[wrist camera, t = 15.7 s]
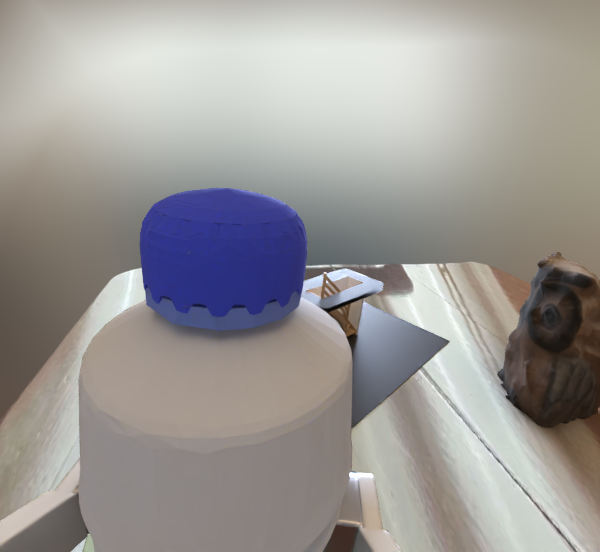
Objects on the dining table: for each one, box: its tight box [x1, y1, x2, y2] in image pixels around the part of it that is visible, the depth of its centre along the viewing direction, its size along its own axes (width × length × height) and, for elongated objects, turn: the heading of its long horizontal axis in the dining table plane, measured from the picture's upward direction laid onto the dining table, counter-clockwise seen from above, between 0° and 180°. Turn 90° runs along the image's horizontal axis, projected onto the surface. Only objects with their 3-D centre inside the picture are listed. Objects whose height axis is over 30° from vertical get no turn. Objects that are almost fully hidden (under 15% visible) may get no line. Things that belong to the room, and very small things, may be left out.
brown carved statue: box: [497, 252, 600, 427], centre depth 44 cm, size 13×13×20 cm
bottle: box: [79, 188, 353, 552], centre depth 10 cm, size 7×7×20 cm
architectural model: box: [301, 269, 449, 428], centre depth 53 cm, size 35×28×14 cm
